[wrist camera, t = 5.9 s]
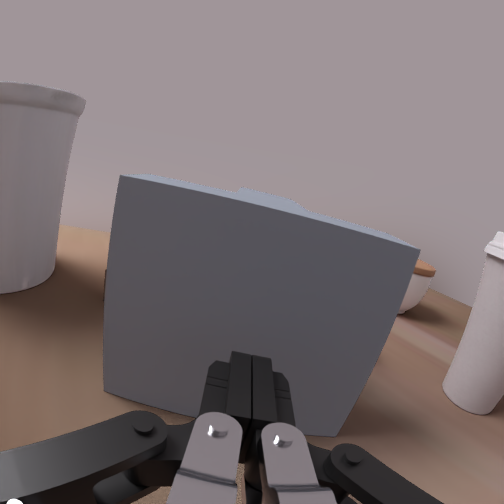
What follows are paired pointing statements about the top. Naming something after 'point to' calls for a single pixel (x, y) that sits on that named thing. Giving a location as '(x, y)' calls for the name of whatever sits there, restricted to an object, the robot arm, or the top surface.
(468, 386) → the coffee cup
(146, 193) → the slate T block
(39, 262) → the utensil holder
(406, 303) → the lidded jar
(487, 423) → the top surface
